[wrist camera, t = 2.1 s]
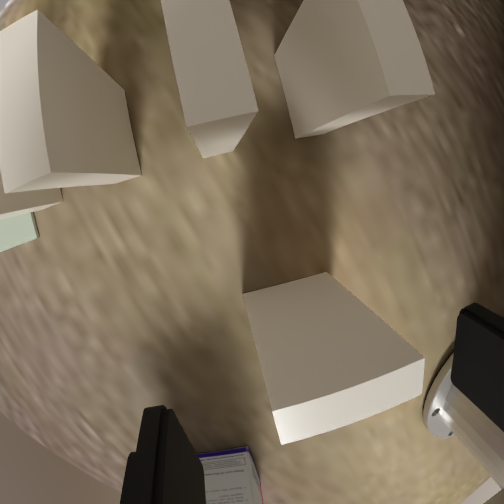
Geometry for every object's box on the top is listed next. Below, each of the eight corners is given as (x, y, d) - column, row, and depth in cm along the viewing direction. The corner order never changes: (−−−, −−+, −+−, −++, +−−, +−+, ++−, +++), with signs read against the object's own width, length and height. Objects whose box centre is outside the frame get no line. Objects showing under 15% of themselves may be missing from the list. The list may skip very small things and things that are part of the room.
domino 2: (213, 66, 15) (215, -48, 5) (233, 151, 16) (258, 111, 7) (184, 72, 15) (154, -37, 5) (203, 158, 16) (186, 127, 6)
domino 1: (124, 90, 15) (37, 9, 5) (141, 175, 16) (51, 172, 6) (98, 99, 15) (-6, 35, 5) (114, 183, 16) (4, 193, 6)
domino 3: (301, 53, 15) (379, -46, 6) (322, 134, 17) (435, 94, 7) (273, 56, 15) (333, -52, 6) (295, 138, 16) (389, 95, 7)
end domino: (242, 293, 18) (272, 411, 8) (326, 271, 18) (424, 357, 9) (248, 318, 18) (281, 444, 9) (330, 296, 19) (421, 393, 9)
